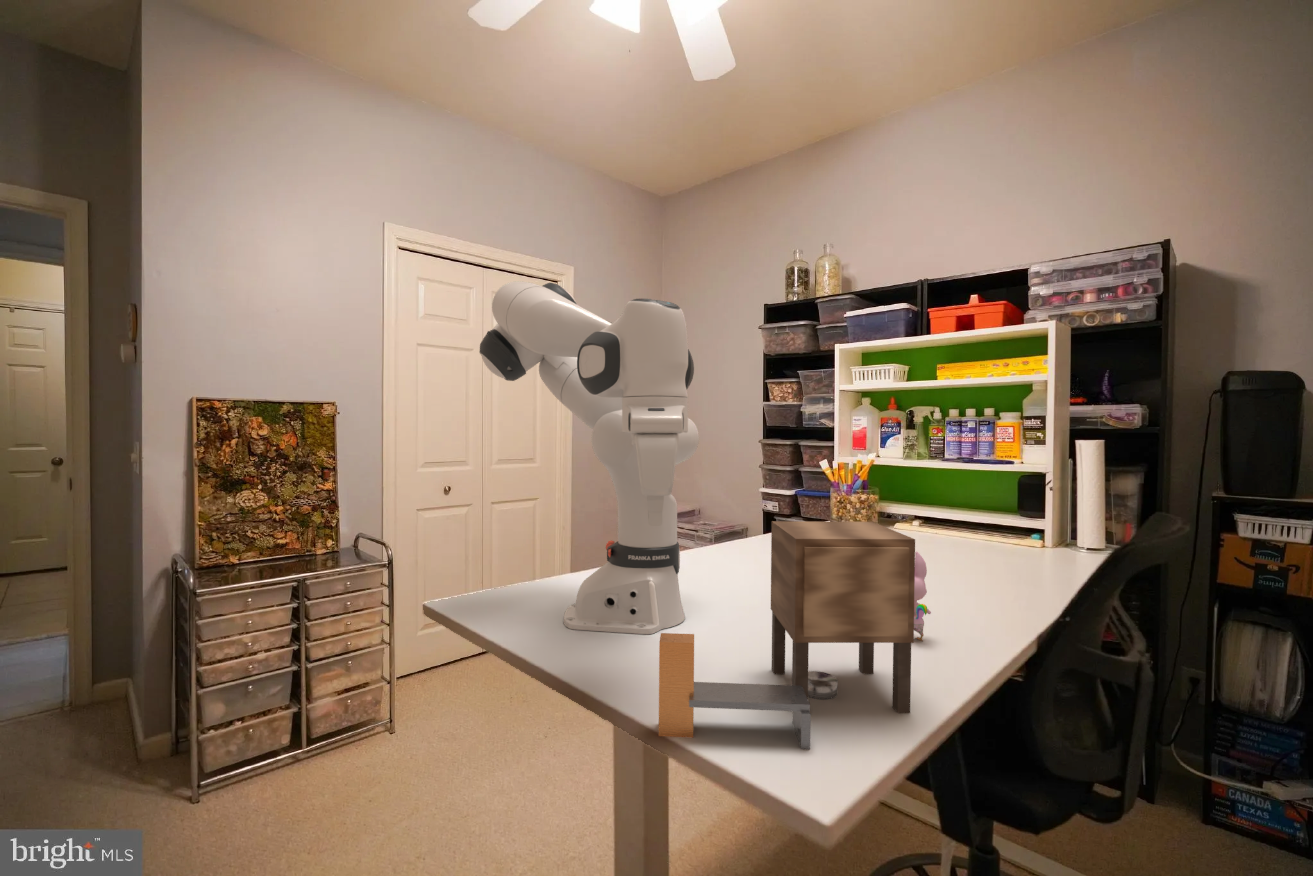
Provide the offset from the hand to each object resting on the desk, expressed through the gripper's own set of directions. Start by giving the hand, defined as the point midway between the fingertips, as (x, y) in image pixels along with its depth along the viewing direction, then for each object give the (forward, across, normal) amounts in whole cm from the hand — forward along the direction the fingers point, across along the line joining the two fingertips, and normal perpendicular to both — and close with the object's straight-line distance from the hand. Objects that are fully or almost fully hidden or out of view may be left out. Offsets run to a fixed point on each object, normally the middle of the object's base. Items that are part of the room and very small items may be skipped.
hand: (654, 522), depth 81 cm
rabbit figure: (+23, -19, +44) cm, 54 cm away
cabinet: (+23, -1, +25) cm, 34 cm away
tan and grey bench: (+23, +10, +2) cm, 25 cm away
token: (+23, 0, +22) cm, 32 cm away
